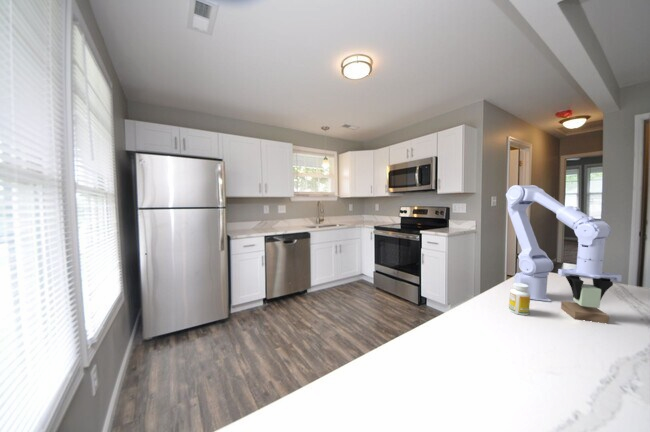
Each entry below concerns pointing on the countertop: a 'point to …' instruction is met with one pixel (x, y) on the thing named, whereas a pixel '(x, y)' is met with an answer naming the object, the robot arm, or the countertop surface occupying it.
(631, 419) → the countertop surface
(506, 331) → the countertop surface
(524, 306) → the supplement bottle
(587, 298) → the sage block
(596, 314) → the walnut block
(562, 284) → the countertop surface
